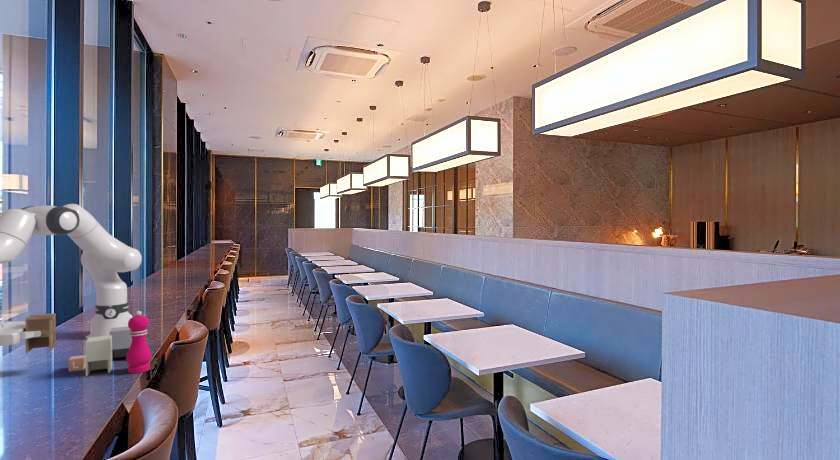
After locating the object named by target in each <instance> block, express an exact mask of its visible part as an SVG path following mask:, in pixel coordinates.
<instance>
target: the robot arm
mask: <svg viewBox="0 0 840 460" xmlns="http://www.w3.org/2000/svg"><path fill="white" fill-rule="evenodd" d="M33 235H36V236H63V235H67V236H68V237H69V239H71V240H72V241H73V242H74V243H75V245H76V246H78V247H79V249H81V251H83V252H82V253H81V256H80V264H81V266H82V267H83V268H84V269H86V270H87V272H88V273H89V274H90V276H91V278H92V280H93V283H94V285H95V295H96V296H95V297H96V304H95V307H94V311H95V313H94V316H93V317H92V318H91V319H90V333H89V334H88V335H86V336H85V340H87V339H88V338H90V337H100V336H110V334H109V332H110V330H111V328H117V327H128V321H129V320H130V319H131V318H132V317H133V315H132V314H131V313H130V312H129V310H130V309H129V307H130V306H129V302H128V286H127V283H126V282H124V281H123V280H122V279H121V277H120V276H119V274H118V273H128V272H131V271H135V270H137V269H138V268H140V266H141V264H142V262H143V261H142V260H143V257H142V254H141V252H140V250H138V249H137V248H134V247H131V246H128V245H127V244H126V243H123V242H122V241H120V240H119V239H117V238H116V237H114V236H113V235H112V234H110V233H109V232H108V231H107V230H106V229H105V228H104V227H103V226H102V225H101V223H99V221H97V219H96V218H95V217H94V216H93V215H92V214H91V213H90V212H89V211H88V210H86V209H85V208H84V207H82V206H81V205H80V204H77V203H68V204H64V205H61V206H60V205H59V206H56V205H37V206H34V205H30V206H24V207H22V208H9V209H6V210H5V211H4V212H2V213H1V214H0V264H7V263H10V262H12V261H14V260H15V259H17V257H18V256H19V255H20V254H21V253H22V251H23V250H24V249H25V247H26V246H27V244H28V242H29V240H30V239H31V237H32V236H33ZM41 335H42V331H41V330H36V331H30V332H27V331H26V320H25V321H19V320H18V321H17V320H15V321H5V320H4V319H3V320H2V319H1V320H0V347H5V346H14V345H18V344H19V343H20V342H22V341H23V340H26V339H28V338H32V337H39V336H41Z"/></svg>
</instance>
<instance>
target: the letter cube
mask: <svg viewBox="0 0 840 460" xmlns="http://www.w3.org/2000/svg"><path fill="white" fill-rule="evenodd" d="M67 362H68V372H76V371H84V370H85V369H86V354H85V355H75V356H73V355H72V356H70V357H69V359H68V361H67Z"/></svg>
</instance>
